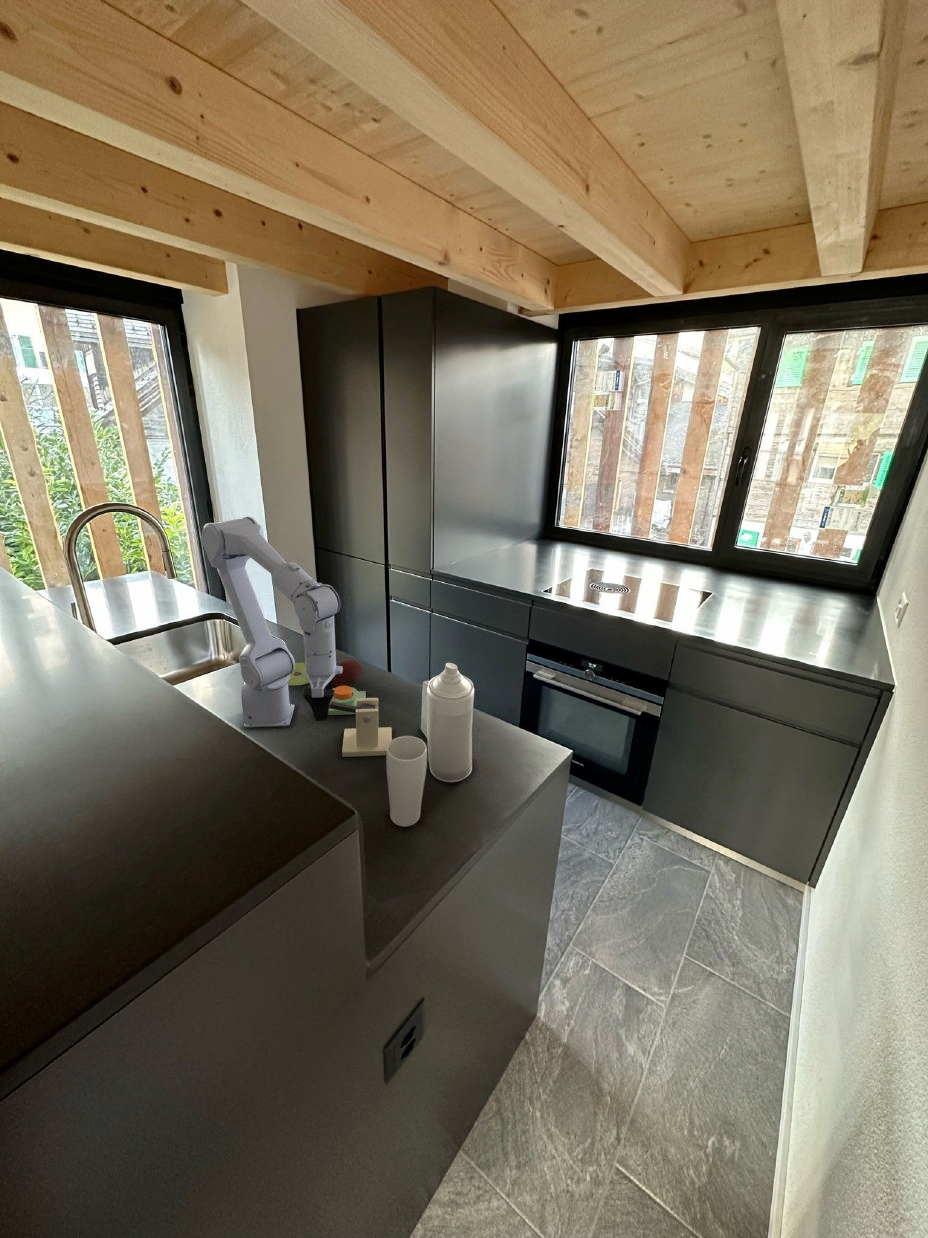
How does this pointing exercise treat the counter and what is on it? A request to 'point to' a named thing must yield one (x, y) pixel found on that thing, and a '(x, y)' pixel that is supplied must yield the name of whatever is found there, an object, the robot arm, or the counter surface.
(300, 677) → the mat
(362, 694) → the control block
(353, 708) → the lever
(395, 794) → the drinking glass
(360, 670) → the potato
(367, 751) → the bracket
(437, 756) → the spray can
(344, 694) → the button
